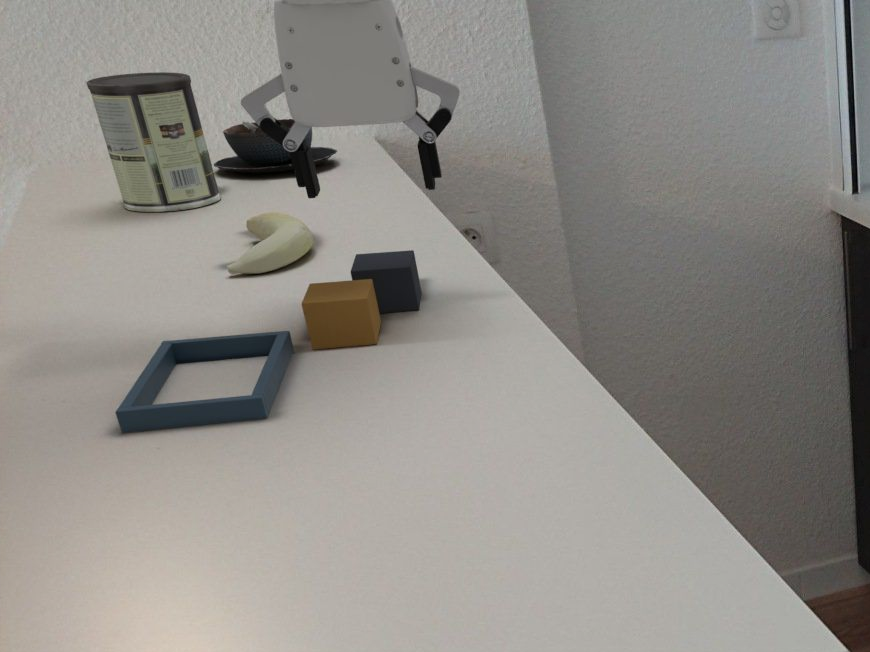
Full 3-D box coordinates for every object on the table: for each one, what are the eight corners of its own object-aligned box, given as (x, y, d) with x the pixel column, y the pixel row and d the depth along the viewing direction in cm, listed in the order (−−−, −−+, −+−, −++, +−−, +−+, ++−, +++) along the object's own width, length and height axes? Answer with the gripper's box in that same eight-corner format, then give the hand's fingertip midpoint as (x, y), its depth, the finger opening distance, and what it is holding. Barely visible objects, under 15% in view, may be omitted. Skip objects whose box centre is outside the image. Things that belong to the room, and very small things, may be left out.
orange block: (376, 344, 108) (367, 298, 106) (312, 350, 106) (301, 303, 105) (381, 323, 113) (372, 278, 111) (319, 328, 111) (309, 283, 110)
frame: (270, 430, 91) (261, 397, 90) (125, 445, 89) (114, 411, 87) (296, 359, 104) (289, 330, 103) (171, 371, 102) (162, 341, 101)
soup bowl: (363, 159, 176) (351, 103, 172) (283, 184, 162) (269, 123, 158) (269, 154, 178) (256, 98, 175) (182, 177, 165) (166, 117, 161)
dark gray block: (419, 310, 116) (410, 266, 114) (359, 315, 115) (350, 271, 113) (421, 291, 121) (413, 250, 119) (364, 296, 120) (355, 254, 118)
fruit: (323, 235, 139) (316, 205, 138) (307, 272, 127) (299, 238, 125) (251, 240, 137) (243, 209, 136) (227, 278, 125) (218, 244, 123)
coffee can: (165, 191, 158) (132, 70, 151) (240, 195, 156) (210, 73, 150) (101, 210, 149) (63, 82, 142) (180, 214, 147) (145, 86, 141)
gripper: (440, -25, 111) (476, 175, 119) (219, -19, 106) (272, 189, 114) (438, -18, 105) (475, 192, 113) (203, -12, 100) (260, 208, 108)
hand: (373, 190), depth 114 cm, fingers open, 9 cm apart
